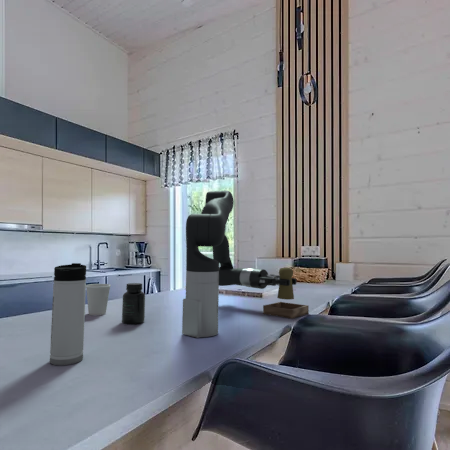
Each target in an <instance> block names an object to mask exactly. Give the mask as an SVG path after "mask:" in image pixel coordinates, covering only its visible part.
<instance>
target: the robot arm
mask: <svg viewBox="0 0 450 450" xmlns="http://www.w3.org/2000/svg"><path fill="white" fill-rule="evenodd" d="M233 209H234V197H233V194H232V192H231V191H229V190H227V189H226V190H225V189H224V190H210V191H209V190H208V192H206V194H205V205H204V206H203V208H202V209H201V213H192V214H191V213H190V214H189V215H188V216H187V218H186V222H185V244H186V245H185V247H186V256H185V257H186V260H185V261H186V264H185V267H186V268H185V298H183V299H182V321H181V322H182V323H181V324H182V325H181V327H182V328H181V333H182V335H185V336H188V337H193V338H196V339H197V338H207V337H213V336H217V335H218V334H219V297H220V295H219V292H220V290H219V286H220V287H222V286H234V285H235V286H240V287H246V288H251V289H260V290H263V289H266V287H268V286H271V287H273V286H274V287H275V286H278V287H279V285H285V286H289V285H290V280H289V279H280V275H279V274H278V275H277V274H272V273H271V274H269V272H268V271H267V270H266V269H263V268H253V267H251V268H250V267H249V268H245V267H244V268H242V267H235V268H234V266H233V263H232V260H231V257H230V256H231V255H230V254H231V253H230V243H229V242H230V241H229V239H228V237H227V235H226V225H227V222H228V220H229V217H230V214H231V213H232V211H233ZM199 247H209V248H211V247H212V248H211V249H212V257H209V256H206V255H205V254H204V253H203V252H201V251H200V250H199ZM292 285H293V286H296V285H297V278H293V277H292Z"/></svg>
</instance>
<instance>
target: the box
mask: <svg viewBox="0 0 450 450" xmlns="http://www.w3.org/2000/svg"><path fill="white" fill-rule="evenodd" d="M309 306H310V305H307V304H302V303H301V304H299V303H291V302H285V301H277V302H273V303H269V304H265V305H264V304H263V306H262V307H263V308H262V309H263V311H262V315H267V316H273V317H281V318H285V319H290V320H294V319H297V318H299V317H303V316H306V315H309V313H310V311H309V309H310V307H309Z"/></svg>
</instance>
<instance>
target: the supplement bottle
mask: <svg viewBox="0 0 450 450" xmlns="http://www.w3.org/2000/svg"><path fill="white" fill-rule="evenodd" d="M125 290H126V292H124V293H123V295H122V304H121V305H122V307H121V308H122V311H121V313H122V314H121V322H122V323H123V324H124V325H131V326H132V325H141V324H143V323H144V322H145V315H146V314H145V313H146V312H145V311H146V294H145V292H144V291H142V290H143V283H142V282H141V283H140V282H131V283H130V282H129V283H126V286H125Z"/></svg>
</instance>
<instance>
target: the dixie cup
mask: <svg viewBox="0 0 450 450" xmlns="http://www.w3.org/2000/svg"><path fill="white" fill-rule="evenodd" d="M110 291H111V284H110V283H91V284H90V283H89V284H86V300H87V301H86V302H87V311H88V312H87V313H88V316H102V315H106V314H107V308H108V301H109V295H110Z"/></svg>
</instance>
